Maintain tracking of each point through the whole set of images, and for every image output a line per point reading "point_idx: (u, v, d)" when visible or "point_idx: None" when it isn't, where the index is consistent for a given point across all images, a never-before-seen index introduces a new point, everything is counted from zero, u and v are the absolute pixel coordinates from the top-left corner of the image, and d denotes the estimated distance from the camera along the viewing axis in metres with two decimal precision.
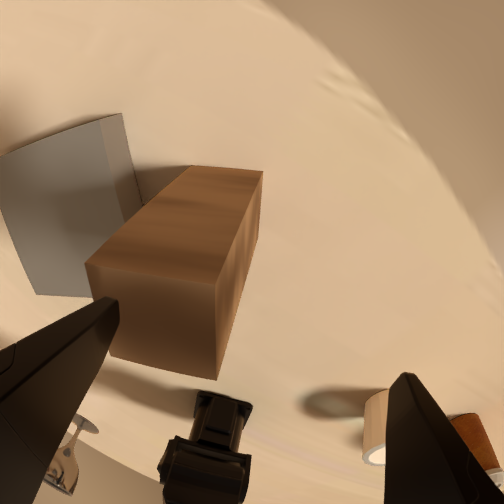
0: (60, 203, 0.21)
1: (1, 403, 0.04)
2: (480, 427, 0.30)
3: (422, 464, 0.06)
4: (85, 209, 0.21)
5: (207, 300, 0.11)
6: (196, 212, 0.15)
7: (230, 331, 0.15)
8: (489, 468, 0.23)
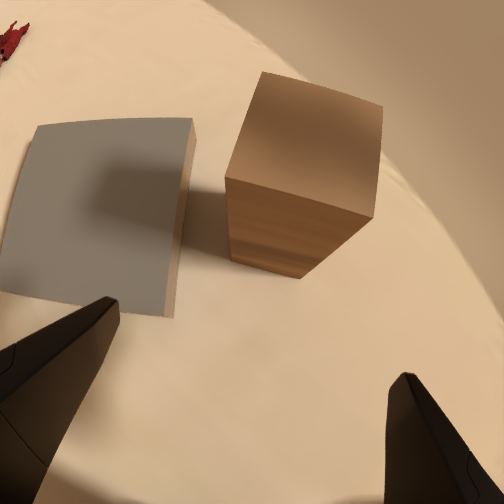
0: (104, 178, 0.21)
1: (1, 403, 0.04)
2: None
3: (422, 464, 0.06)
4: (134, 189, 0.21)
5: (376, 116, 0.11)
6: None
7: None
8: None
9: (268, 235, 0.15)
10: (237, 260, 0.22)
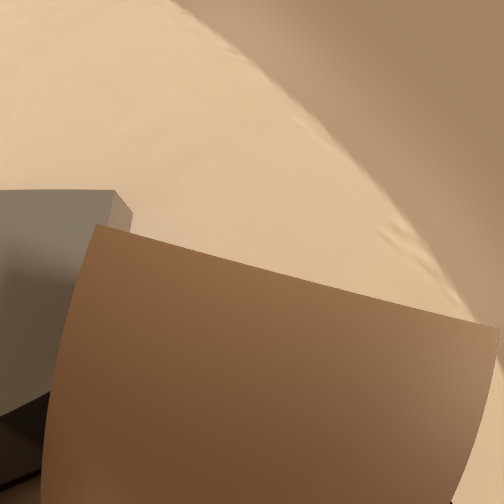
0: (4, 288, 0.12)
1: None
2: None
3: None
4: (38, 311, 0.12)
5: (477, 380, 0.03)
6: None
7: None
8: None
9: None
10: None
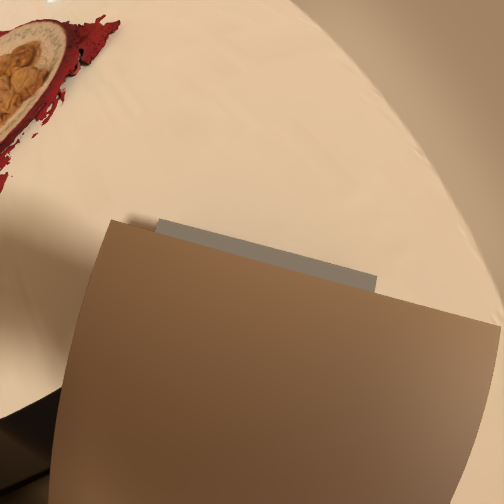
0: None
1: None
2: None
3: None
4: None
5: (479, 376, 0.03)
6: None
7: None
8: None
9: None
10: None
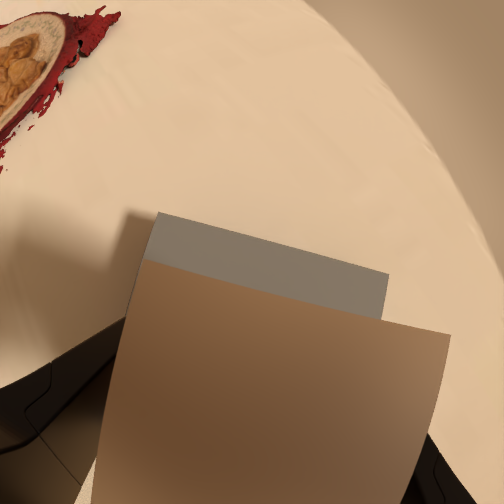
0: None
1: (42, 429, 0.04)
2: None
3: None
4: None
5: (430, 374, 0.04)
6: None
7: None
8: None
9: None
10: None
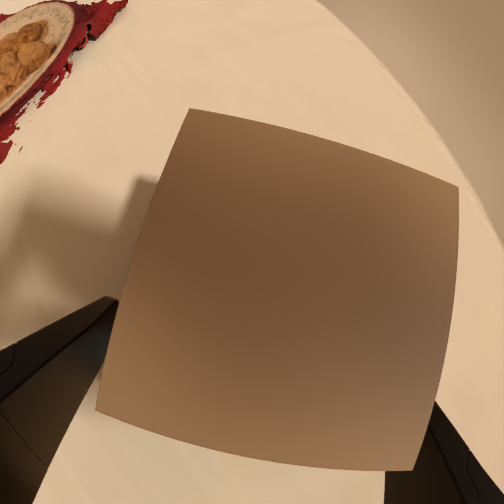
0: None
1: (1, 403, 0.04)
2: None
3: (422, 464, 0.06)
4: None
5: (447, 216, 0.05)
6: None
7: None
8: None
9: None
10: None
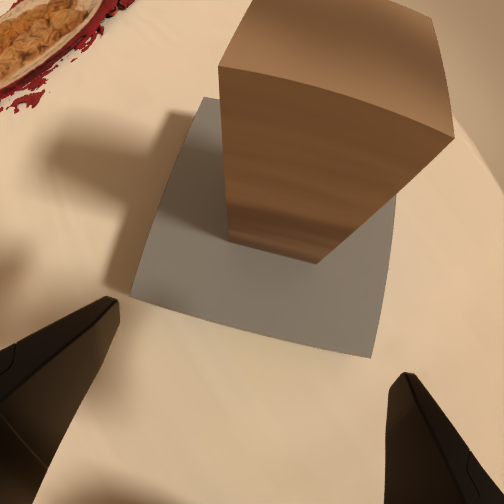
0: None
1: (1, 403, 0.04)
2: None
3: (422, 464, 0.06)
4: None
5: (426, 25, 0.06)
6: None
7: None
8: None
9: (282, 191, 0.10)
10: (237, 240, 0.17)
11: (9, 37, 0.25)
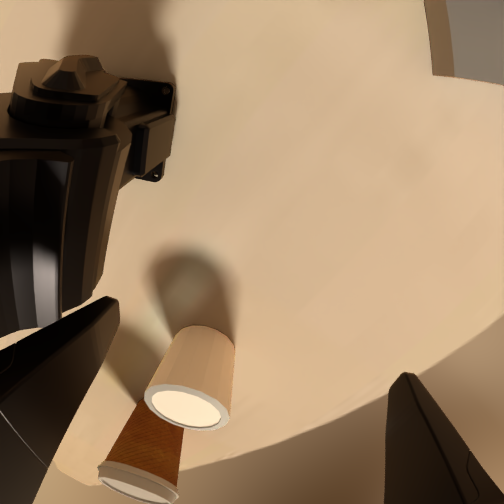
0: None
1: (1, 403, 0.04)
2: (182, 437, 0.34)
3: (422, 464, 0.06)
4: None
5: None
6: None
7: None
8: (175, 486, 0.28)
9: None
10: None
11: None
